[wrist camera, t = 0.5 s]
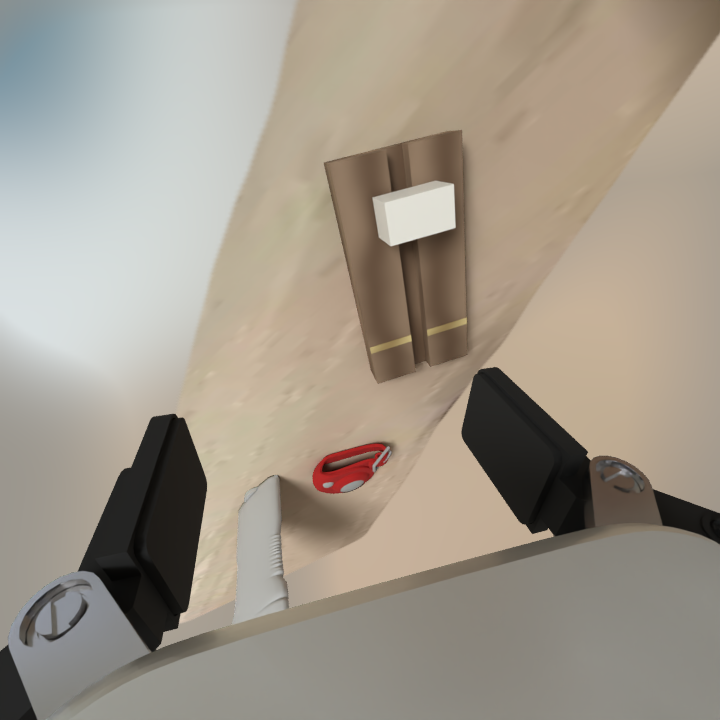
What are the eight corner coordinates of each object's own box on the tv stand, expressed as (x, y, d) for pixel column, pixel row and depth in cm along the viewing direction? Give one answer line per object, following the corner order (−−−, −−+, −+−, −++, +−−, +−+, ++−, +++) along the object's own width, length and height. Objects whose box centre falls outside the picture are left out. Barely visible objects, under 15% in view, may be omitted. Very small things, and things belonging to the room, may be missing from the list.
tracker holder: (362, 496, 56) (308, 505, 50) (353, 471, 59) (301, 477, 53) (403, 458, 49) (346, 464, 43) (391, 432, 52) (336, 435, 46)
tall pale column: (266, 469, 49) (271, 658, 31) (290, 477, 51) (307, 659, 33) (227, 513, 52) (209, 710, 33) (251, 519, 54) (247, 708, 36)
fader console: (446, 131, 32) (462, 130, 29) (456, 343, 45) (467, 355, 43) (323, 162, 31) (329, 164, 28) (371, 370, 44) (378, 384, 42)
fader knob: (427, 179, 32) (453, 183, 28) (430, 217, 34) (455, 228, 29) (367, 195, 31) (384, 202, 27) (373, 233, 33) (390, 246, 29)
